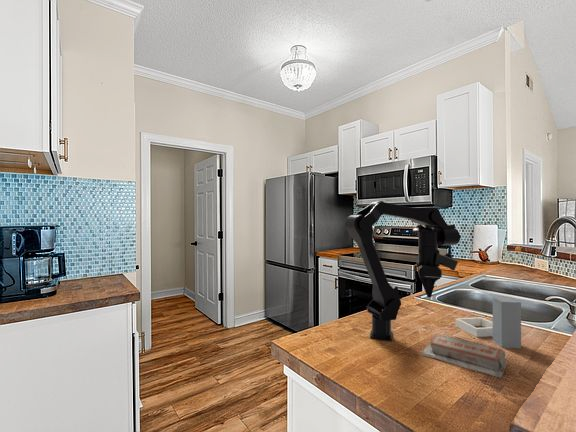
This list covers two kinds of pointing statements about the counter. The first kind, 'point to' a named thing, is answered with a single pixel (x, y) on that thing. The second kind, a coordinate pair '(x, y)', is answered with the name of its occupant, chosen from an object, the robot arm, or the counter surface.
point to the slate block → (507, 322)
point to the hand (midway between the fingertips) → (428, 293)
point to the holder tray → (469, 324)
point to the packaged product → (467, 354)
